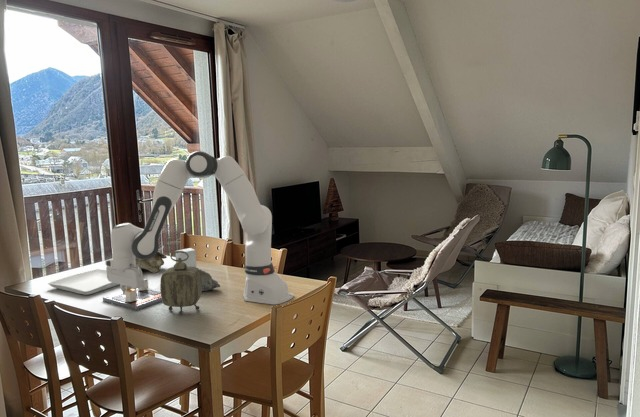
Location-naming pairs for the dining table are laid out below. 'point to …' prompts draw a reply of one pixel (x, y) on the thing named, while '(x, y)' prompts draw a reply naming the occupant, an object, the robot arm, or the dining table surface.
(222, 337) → the dining table surface
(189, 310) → the dining table surface
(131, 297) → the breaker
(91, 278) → the square plate
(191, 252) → the skincare box
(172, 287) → the tabletop clock
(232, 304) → the dining table surface
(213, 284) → the mineral rock
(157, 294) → the panel
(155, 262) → the hollow geode rock
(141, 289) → the breaker
